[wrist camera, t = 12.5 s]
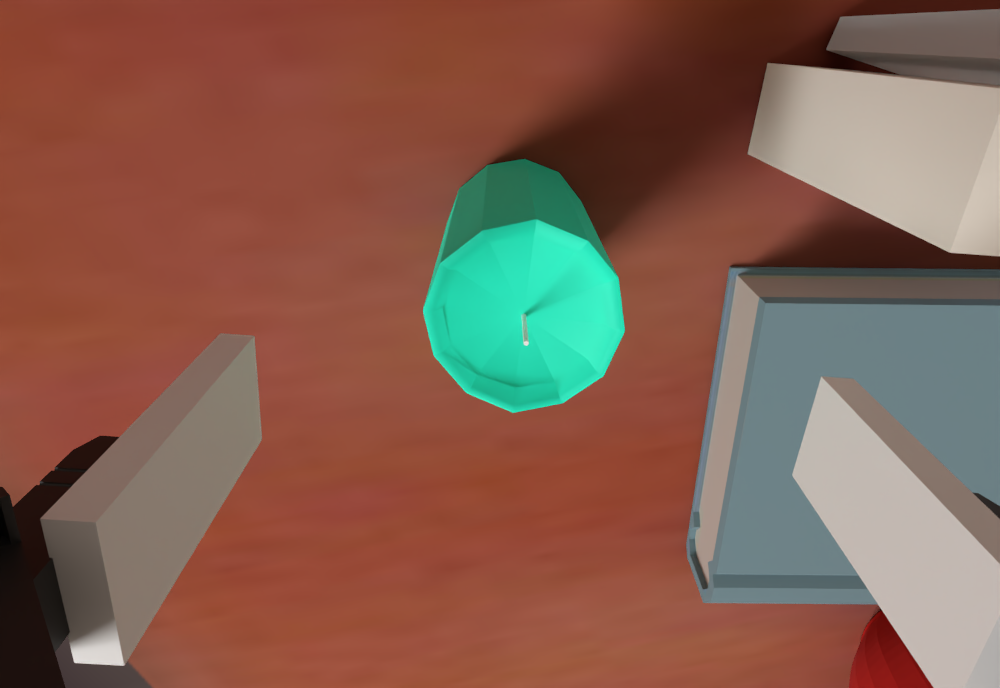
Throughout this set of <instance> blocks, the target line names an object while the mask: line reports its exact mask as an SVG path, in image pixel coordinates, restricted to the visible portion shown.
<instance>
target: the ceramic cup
mask: <svg viewBox="0 0 1000 688" xmlns="http://www.w3.org/2000/svg"><path fill="white" fill-rule="evenodd" d="M849 688H933V686H932V685H931V683H930V682H929V680H928V679H927V677H926V676H925V674H924V673H923V671H922V670H921V668H920V667H919V665H918V664H917V662H916V661H915V659H914V658H913V656H912V655H911V653H910V652H909V650H908V649H907V647H906V646H905V644H904V643H903V641H902V640H901V638H900V637H899V635H898V634H897V632H896V631H895V629H894V628H893V626H892V625H891V623H890V622H889V620H888V619H887V617H886V616H885V614H884V613H883V611H882V610H881V611H880V612H878V613H877V614H876V615H875V616H874V617H873V618H872V619H871V620H870V622H869V623H868V625H867V626H866V628H865V629H864V632H863V634H862V637H861V642H860V645H859V648H858V650H857V653H856V655H855V658H854V661H853V664H852V669H851V674H850V682H849Z"/></svg>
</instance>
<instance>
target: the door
mask: <svg viewBox="0 0 1000 688" xmlns="http://www.w3.org/2000/svg"><path fill="white" fill-rule="evenodd" d="M826 50H828V51H831V52H834V53H837V54H840V55H843V56H846V57H849V58H852V59H855V60H858V61H861V62H864V63H867V64H870V65H873V66H876V67H879V68H882V69H885V70H888V71H890V72H893V73H896V74H899V75H906V76H916V77H926V78H935V79H945V80H955V81H964V82H974V83H983V84H993V85H1000V9H989V10H969V11H948V12H928V13H907V14H887V15H866V16H846V17H840V19H839V21H838V24H837V26H836V28H835V30H834V33H833V35H832V37H831V39H830V42H829V44H828V46H827V48H826Z"/></svg>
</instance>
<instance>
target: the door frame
mask: <svg viewBox="0 0 1000 688" xmlns="http://www.w3.org/2000/svg"><path fill="white" fill-rule="evenodd" d="M748 154H749V155H751V156H753V157H755V158H757V159H759V160H761V161H763V162H765V163H767V164H769V165H771V166H773V167H775V168H777V169H779V170H781V171H783V172H785V173H787V174H790V175H792V176H794V177H796V178H798V179H800V180H802V181H804V182H806V183H808V184H810V185H812V186H814V187H816V188H818V189H820V190H822V191H824V192H826V193H829V194H831V195H833V196H835V197H837V198H839V199H841V200H843V201H845V202H847V203H849V204H851V205H853V206H855V207H857V208H859V209H861V210H863V211H865V212H867V213H870V214H872V215H874V216H876V217H878V218H880V219H882V220H884V221H886V222H888V223H890V224H892V225H894V226H896V227H898V228H900V229H902V230H904V231H906V232H908V233H911V234H913V235H915V236H917V237H919V238H921V239H923V240H925V241H927V242H929V243H931V244H933V245H935V246H937V247H939V248H941V249H943V250H945V251H947V252H950V253H961V254H974V255H988V256H1000V85H993V84H983V83H974V82H964V81H955V80H945V79H935V78H926V77H916V76H906V75H897V74H887V73H877V72H868V71H858V70H847V69H835V68H823V67H811V66H799V65H787V64H775V63H767V68H766V72H765V77H764V81H763V86H762V91H761V95H760V100H759V104H758V109H757V113H756V118H755V122H754V127H753V131H752V136H751V141H750V145H749V150H748Z"/></svg>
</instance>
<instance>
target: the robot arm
mask: <svg viewBox="0 0 1000 688" xmlns="http://www.w3.org/2000/svg"><path fill="white" fill-rule="evenodd" d="M261 440H262V433H261V420H260V406H259V392H258V379H257V365H256V352H255V338H254V336H250V335H236V334H222V333H220V334H219V335H218V336H217V337H216V339H215V340H214V341H213V342H212V343H211V344H210V345H209V346H208V347H207V348H206V349H205V350H204V351H203V352H202V353H201V354H200V355H199V356H198V357H197V358H196V359H195V360H194V361H193V362H192V363H191V364H190V365H189V366H188V367H187V368H186V369H185V370H184V371H183V372H182V373H181V374H180V376H179V377H178V378H177V379H176V380H175V381H174V382H173V383H172V384H171V385H170V386H169V387H168V388H167V389H166V390H165V391H164V392H163V393H162V394H161V395H160V396H159V397H158V398H157V399H156V400H155V401H154V402H153V403H152V404H151V405H150V406H149V407H148V408H147V409H146V410H145V411H144V413H143V414H142V415H141V416H140V417H139V418H138V419H137V420H136V421H135V422H134V423H133V424H132V425H131V426H130V427H129V428H128V429H127V430H126V431H125V432H124V433H123V434H122V435H121V436H120V437H111V436H99V437H97V438H95V439H93V440H91V441H89V442H88V443H86V444H84V445H82V446H80V447H78V448H76V449H74V450H73V451H72V452H71V453H70V454H69V455H67V456H66V457H65V458H64V459H63V460H62V461H61V462H60V463H59V464H58V465H57V466H56V467H55V470H54V471H51V472H50V473H48V474H47V475H46V476H45V477H44V478H43V479H42V480H41V481H40V485H36V486H35V487H34V488H33V489H32V490H31V491H29V492H28V493H27V494H26V495H25V496H24V497H23V498H22V499H21V500H20V501H19V502H18V503H17V504H16V505H15V506H14V507H12V503H11V499H10V495H9V494H8V493H7V492H6V491H5V489H4V488H3V487H0V688H65V685H64V682H63V678H62V675H61V671H60V669H59V665H58V662H57V658H56V655H55V652H56V650H57V649H58V648H59V646H60V645H61V644H62V642H63V641H64V640H65V638H66V636H67V635H68V638H69V642H70V646H71V651H72V655H73V659H74V663H88V664H104V665H121V666H124V665H125V664H126V662H127V660H128V659H129V657H130V655H131V654H132V652H133V651H134V649H135V647H136V646H137V644H138V642H139V641H140V639H141V637H142V636H143V634H144V632H145V631H146V629H147V628H148V626H149V624H150V623H151V621H152V619H153V618H154V616H155V614H156V613H157V611H158V609H159V608H160V606H161V605H162V603H163V601H164V600H165V598H166V596H167V595H168V593H169V591H170V590H171V588H172V586H173V585H174V583H175V582H176V580H177V578H178V577H179V575H180V573H181V572H182V570H183V568H184V567H185V565H186V563H187V562H188V560H189V559H190V557H191V555H192V554H193V552H194V550H195V549H196V547H197V545H198V544H199V542H200V540H201V539H202V537H203V536H204V534H205V532H206V531H207V529H208V527H209V526H210V524H211V522H212V521H213V519H214V517H215V516H216V514H217V513H218V511H219V509H220V508H221V506H222V504H223V503H224V501H225V499H226V498H227V496H228V494H229V493H230V491H231V490H232V488H233V486H234V485H235V483H236V481H237V480H238V478H239V476H240V475H241V473H242V471H243V470H244V468H245V467H246V465H247V463H248V462H249V460H250V458H251V457H252V455H253V453H254V452H255V450H256V448H257V447H258V445H259V444H260V442H261ZM792 476H793V478H794V479H795V481H796V482H797V484H798V485H799V487H800V488H801V490H802V491H803V493H804V494H805V496H806V497H807V499H808V500H809V502H810V503H811V505H812V506H813V508H814V509H815V511H816V512H817V514H818V515H819V517H820V518H821V520H822V521H823V523H824V524H825V526H826V527H827V529H828V530H829V532H830V533H831V535H832V536H833V538H834V539H835V541H836V542H837V544H838V545H839V547H840V548H841V550H842V551H843V553H844V554H845V556H846V557H847V559H848V560H849V562H850V563H851V565H852V566H853V568H854V569H855V571H856V572H857V574H858V575H859V577H860V578H861V580H862V581H863V583H864V584H865V586H866V587H867V589H868V590H869V592H870V593H871V595H872V596H873V598H874V599H875V601H876V602H877V604H878V605H879V607H880V608H881V610H882V611H883V613H884V614H885V616H886V617H887V619H888V620H889V622H890V623H891V625H892V626H893V628H894V629H895V631H896V632H897V634H898V635H899V637H900V638H901V640H902V641H903V643H904V644H905V646H906V647H907V649H908V650H909V652H910V653H911V655H912V656H913V658H914V659H915V661H916V662H917V664H918V665H919V667H920V668H921V670H922V671H923V673H924V674H925V676H926V677H927V679H928V680H929V682H930V683H931V685H932V686H933V688H1000V506H999V505H997V504H995V503H994V502H992V501H990V500H989V499H987V498H986V497H984V496H982V495H981V494H979V493H972V492H971V491H970V490H969V489H968V488H967V487H966V486H965V485H964V484H963V483H962V482H961V481H960V480H959V479H957V478H956V477H955V476H954V475H953V474H952V473H951V472H950V471H949V470H948V469H947V468H946V467H945V466H944V465H943V464H942V463H941V462H940V461H939V460H938V459H937V458H936V457H935V456H934V455H932V454H931V453H930V452H929V451H928V450H927V449H926V448H925V447H924V446H923V445H922V444H921V443H920V442H919V441H918V440H917V439H916V438H915V437H914V436H913V435H912V434H911V433H910V432H909V431H908V430H906V429H905V428H904V427H903V426H902V425H901V424H900V423H899V422H898V421H897V420H896V419H895V418H894V417H893V416H892V415H891V414H890V413H889V412H888V411H887V410H886V409H885V408H884V407H883V406H881V405H880V404H879V403H878V402H877V401H876V400H875V399H874V398H873V397H872V396H871V395H870V394H869V393H868V392H867V391H866V390H865V389H864V388H863V387H862V386H861V385H860V384H859V383H858V382H856V381H855V380H854V379H850V378H836V377H822V376H821V379H820V382H819V386H818V389H817V393H816V396H815V399H814V403H813V406H812V410H811V413H810V416H809V420H808V423H807V426H806V430H805V433H804V437H803V440H802V443H801V447H800V450H799V453H798V457H797V460H796V464H795V467H794V470H793V474H792Z"/></svg>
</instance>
